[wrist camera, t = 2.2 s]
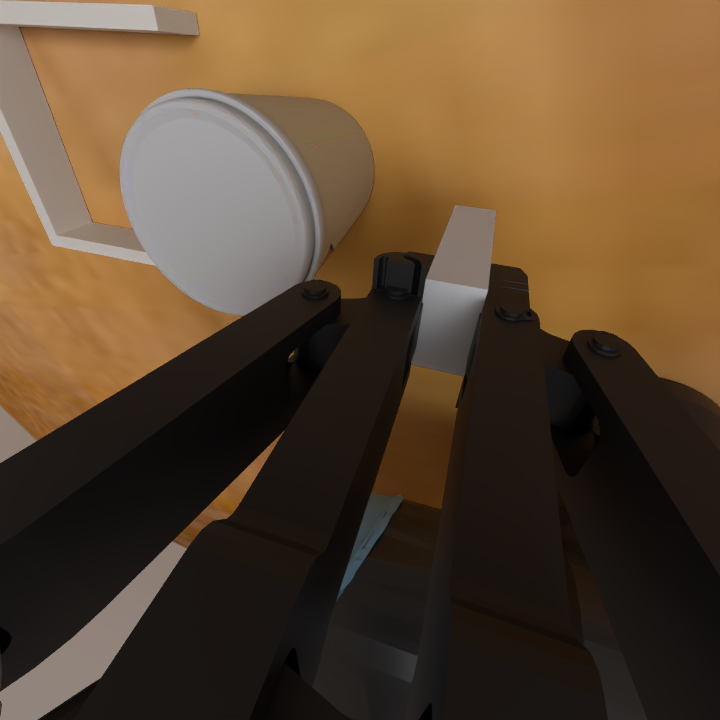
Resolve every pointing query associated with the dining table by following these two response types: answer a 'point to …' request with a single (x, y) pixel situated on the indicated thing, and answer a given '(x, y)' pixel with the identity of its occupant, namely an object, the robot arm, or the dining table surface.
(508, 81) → the dining table surface
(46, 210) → the frame
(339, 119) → the coffee cup
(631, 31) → the dining table surface
